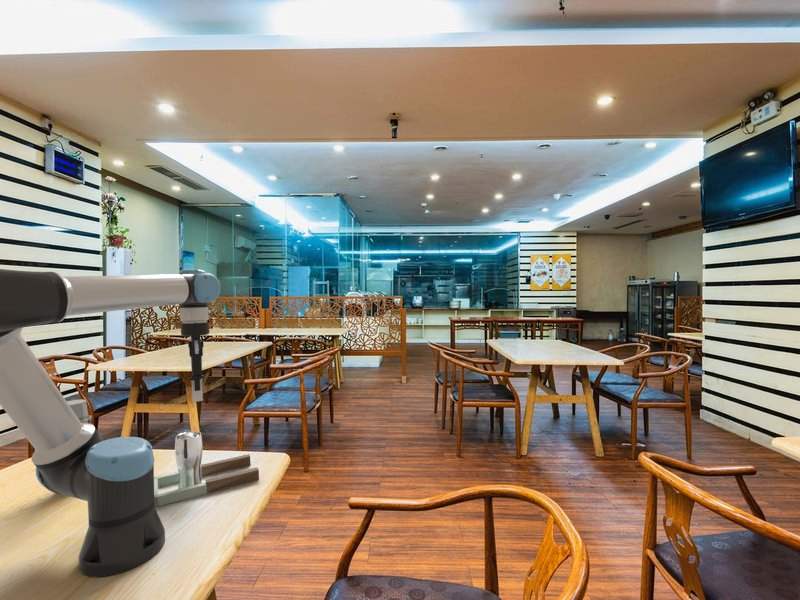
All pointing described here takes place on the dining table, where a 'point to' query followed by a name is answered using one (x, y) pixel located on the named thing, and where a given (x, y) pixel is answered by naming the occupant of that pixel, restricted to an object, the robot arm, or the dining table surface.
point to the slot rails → (232, 478)
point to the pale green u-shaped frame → (176, 494)
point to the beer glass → (188, 458)
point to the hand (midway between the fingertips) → (197, 400)
